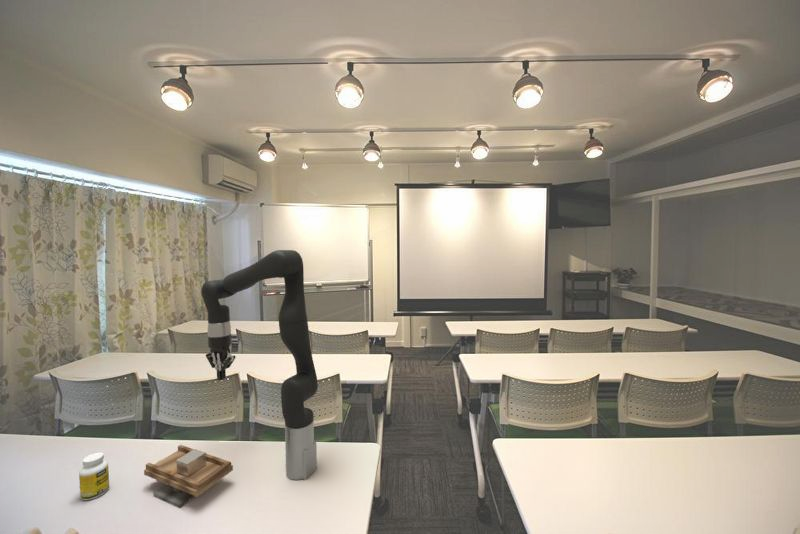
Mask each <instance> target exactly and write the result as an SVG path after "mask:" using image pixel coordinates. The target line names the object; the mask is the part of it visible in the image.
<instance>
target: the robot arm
mask: <svg viewBox="0 0 800 534" xmlns="http://www.w3.org/2000/svg"><path fill="white" fill-rule="evenodd" d="M304 277H305V276H304V262H303V258H302V255H301V254H300V253H299V252H298V251H297V250H293V249H277V250H273V251H271V252H270V253H268V254H266V255H265V256H264V257H262V258H261V259H260V260H258V261H256V262H255V263H252V264H251V265H249V266H247V267H244V268H242V269H239V270H237V271H234V272H232V273H230V274H228V275H226V276H225V277H224V278H222V279H216V280H208V281H206V282H204V283H203V285H202V286H201V289H200V294H201V297H202V300H203V303H204V306H205V308H206V312H207V346H208V348H209V352H208V353H206V354H205V358H206V359H207V361H208V363H209V365H210V366H211V368H212V369H215V371H216V379H217V380H218V381H223V380H225V379H226V376H227V374H226V369H228V368H231V366H232V364H233V363H234V361H235V359H236V355H232V354H231V349H230V347H231V345H232V325H231V318H230V316H231V314H230V307H229V306H228V305H226V304H221V303H220V301H219V300H220V299H221V300H222V299H226V298H229V297H232V296H234V295H236V294H237V293H239V292H242V291H245V290H247V289H250V288H252V287H253V286H255V285H256V284H257V283H258V282H260V281H264V280H268V279H269V280H270V279H276V278H279V279H283V280H284V297H283V301H282V303H281V306H280V309H279V312H278V313H279V314H278V328H279V335H280V339H281V341H282V343H283V344H284V346H285V347H286V348H287V349H288V351H289V352H290V353H291V355H292V356H293V359H294V362H295V368H296V369H295V370H296V374H294V375H291V376H290V377H288V378H286V379H284V381H283V382H282V384H281V387H280V400H281V401H280V402H281V412H282V416H283V419H284V438H285V439H284V441H285V443H284V444H285V448H284V449H285V476H286V477H287V478H288V479H290V480H296V481H298V480H307V479H308V478H309V477H310V476H311V475H312V473H314V472H315V471H316V470H317V468H318V462H317V461H318V457H317V455H318V454H317V447H318V446H317V441H315V431H314V428H315V427H314V426H315V425H314V424H315V423H314V420H315V419H314V416H315V415H314V411H313V410H312V409H311V408H309V407H305V402H306V401H307V400H309V399H310V398H312V397H314V396H315V395H316V394H317V391H318V387H319V383H318V382H319V381H318V377H317V372H316V369H315V363H314V359H313V354H312V347H311V340H310V332H309V323H308V315H307V309H306V298H305V283H304V279H305V278H304Z"/></svg>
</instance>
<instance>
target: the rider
mask: <svg viewBox="0 0 800 534" xmlns="http://www.w3.org/2000/svg"><path fill="white" fill-rule="evenodd" d="M193 449H194V450H192V451H191V452H189V453H187V454H186V455H184V456H182V457H181V458H179V459H177V460H176V464H177V473H180V474H182V475H185V476H187V477H188V476H190V475H191V474H193V473H194V472H196V471H197V470H199V469H200V468H202V467H203V466H205V465H206V454H207V452H205V451H202V450H201V449H200V450H199V449H197V448H193Z"/></svg>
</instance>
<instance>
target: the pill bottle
mask: <svg viewBox="0 0 800 534" xmlns="http://www.w3.org/2000/svg"><path fill="white" fill-rule="evenodd" d="M82 465H83V466H82V467H81V468H80V470H79V471H78V473H79V476H78V477H79V493H80V496H79V497H80V499H81V500H82V501H91V500H93V499H97V498H99V497H101V496H102V495H104V494H105V493H106V492H107V491H108V490H109V488H110V476H109V475H110V474H109V461H108V460H107V459H105V455H104V452H95V453H91V454H89V455H86V456H85V457H84V458H83V459H82Z"/></svg>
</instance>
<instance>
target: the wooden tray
mask: <svg viewBox="0 0 800 534" xmlns="http://www.w3.org/2000/svg"><path fill="white" fill-rule="evenodd" d="M194 449H195V448H191V447H190V446H189V447H188V446H186V445H183V444H179V445H178V446H177V450H176V451H175V452H173V453H172V454H169V455H168V456H166V457H164V458H163V459H161V460H159V461H157V462H156V463H151V462H147V463H146V464H145V469H144V470H143V474H144V476H146V477H149V478H152V479H154V480H156V481H158V482H160V483H162V484H165V485H163V487H160V488H159V489H157V490H156V491H155V492H153V497H155V498H157V499H160V500H162V501H163V502H165V503H168V504H170V505H173V506H174V507H177V508H179V509H181V508H183V507H184V506H185V505H186V504H188V503H189V502H190V501H192V500H193V499H195V498H196V497H197V498H198V497H199V496H201V495H202V494H203V493H204V492H206V491H207V490H209V489H210V488H211V487H212V486H214V485H215V484H216V483H218V482H219V481H221V480H222V479H223V478H224V477H226V476H227V475H228V474H230V473H231V472H232V471H234V466H233V465H232V461H230V460H227V459H224V458H220V457H218V456H214V455H212V454H209V453H206V465H205V466H203V467H202V468H200V469H199V470H197V471H196V472H194V473H193V474H191V475H190V476H188V477H187V476H185V475H182V474H180V473H177V464H176V460H177V459H179V458H181V457H182V456H184V455H186V454H187V453H189V452H191V451H192V450H194Z"/></svg>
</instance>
